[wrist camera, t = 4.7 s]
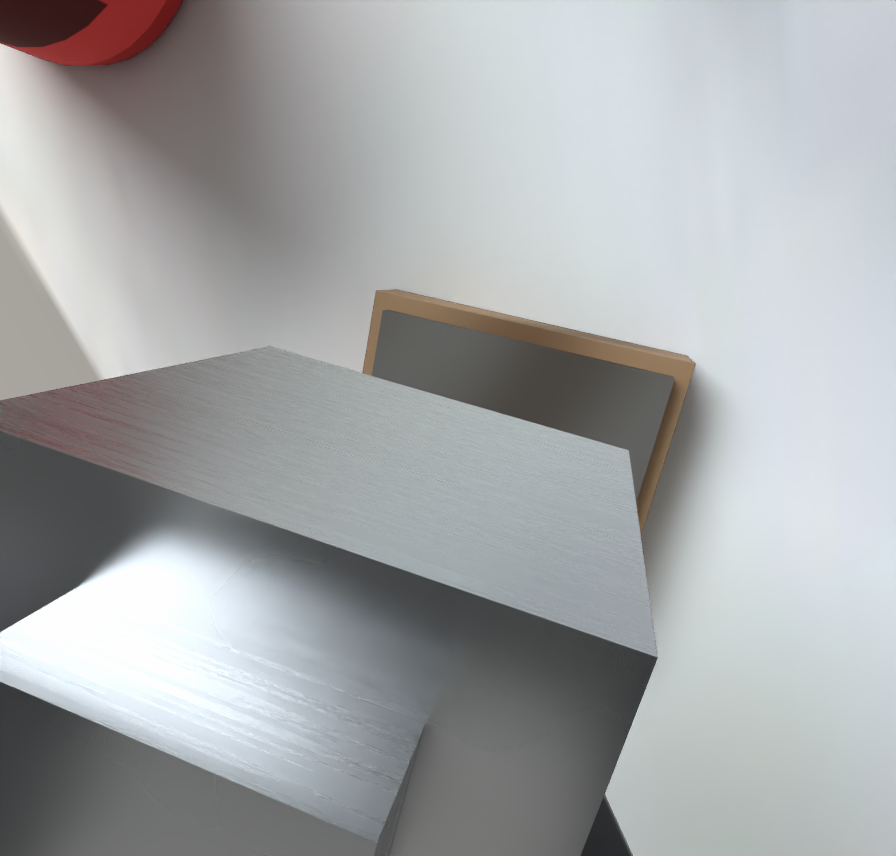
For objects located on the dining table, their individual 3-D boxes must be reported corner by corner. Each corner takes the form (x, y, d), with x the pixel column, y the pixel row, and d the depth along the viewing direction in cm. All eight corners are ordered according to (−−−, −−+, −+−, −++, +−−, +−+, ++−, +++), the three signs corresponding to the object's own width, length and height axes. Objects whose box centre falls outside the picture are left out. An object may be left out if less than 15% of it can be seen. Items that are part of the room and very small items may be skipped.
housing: (628, 450, 7) (679, 820, 2) (478, 897, 9) (335, 1601, 4) (268, 346, 8) (-265, 455, 3) (204, 779, 10) (-179, 1259, 5)
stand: (687, 355, 16) (698, 366, 14) (603, 621, 18) (603, 660, 16) (395, 289, 17) (370, 290, 15) (352, 542, 20) (324, 570, 18)
